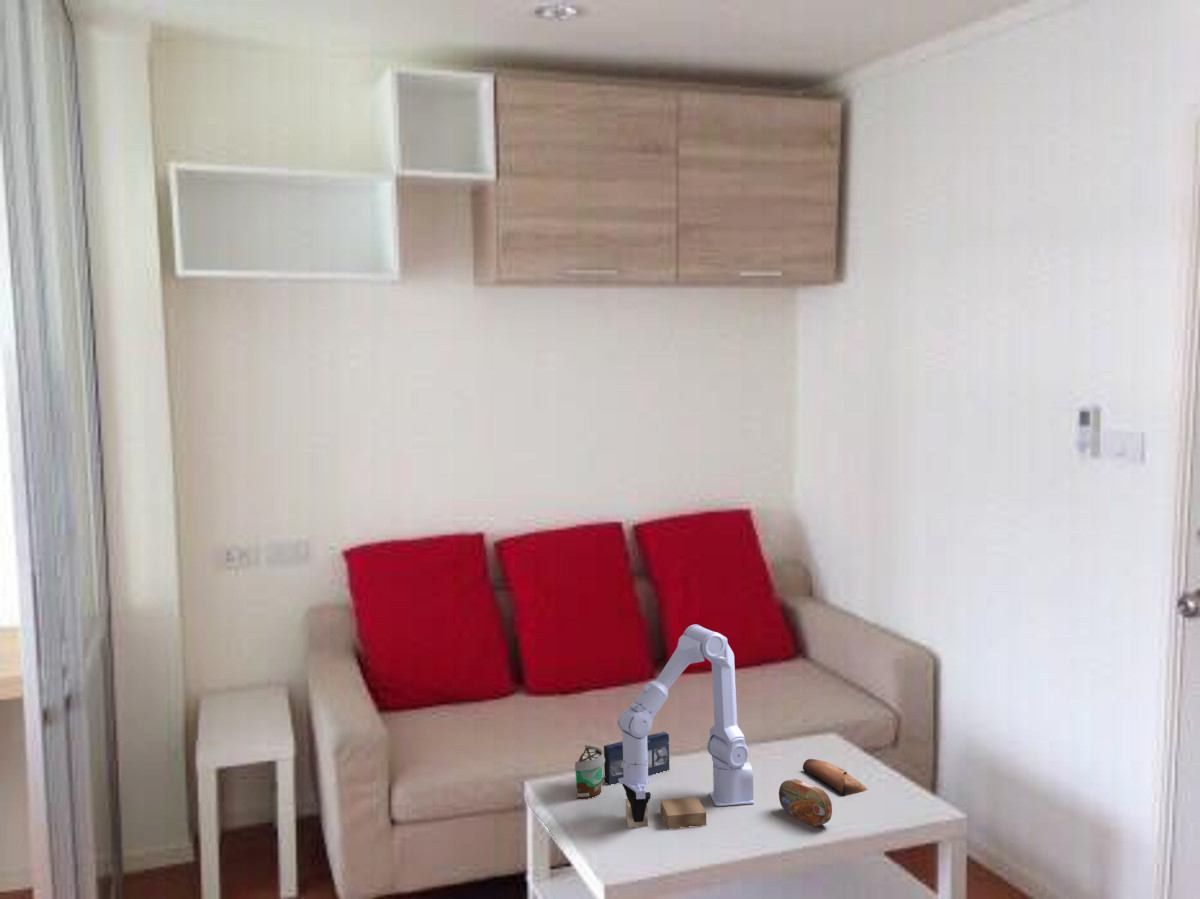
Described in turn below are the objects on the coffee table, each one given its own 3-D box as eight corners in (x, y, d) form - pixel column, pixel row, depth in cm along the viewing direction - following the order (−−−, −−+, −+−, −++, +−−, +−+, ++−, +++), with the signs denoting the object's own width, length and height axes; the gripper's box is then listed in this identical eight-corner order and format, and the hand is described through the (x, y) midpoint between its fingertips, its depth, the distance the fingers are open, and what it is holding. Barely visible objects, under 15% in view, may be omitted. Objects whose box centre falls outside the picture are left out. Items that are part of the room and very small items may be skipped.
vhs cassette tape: (608, 786, 280) (607, 748, 279) (603, 782, 283) (602, 744, 282) (670, 771, 289) (670, 734, 288) (665, 767, 291) (664, 731, 290)
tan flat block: (697, 811, 265) (697, 796, 265) (706, 827, 256) (706, 812, 256) (660, 814, 264) (660, 800, 263) (668, 830, 255) (667, 815, 254)
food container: (600, 803, 270) (599, 763, 269) (575, 802, 271) (574, 762, 270) (610, 783, 282) (609, 745, 281) (586, 782, 283) (585, 744, 282)
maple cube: (644, 817, 261) (644, 797, 260) (648, 826, 256) (647, 805, 256) (626, 819, 260) (625, 798, 260) (628, 827, 256) (628, 806, 255)
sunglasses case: (871, 790, 273) (860, 770, 271) (851, 808, 271) (839, 788, 269) (829, 765, 290) (818, 746, 288) (809, 782, 288) (798, 763, 286)
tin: (777, 810, 263) (777, 775, 263) (787, 806, 265) (787, 772, 264) (824, 832, 251) (824, 796, 250) (834, 828, 253) (834, 792, 252)
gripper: (614, 750, 264) (615, 805, 265) (622, 773, 249) (624, 831, 251) (643, 748, 265) (644, 803, 266) (653, 771, 250) (655, 829, 252)
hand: (636, 816), depth 258 cm, fingers closed on maple cube, 4 cm apart
